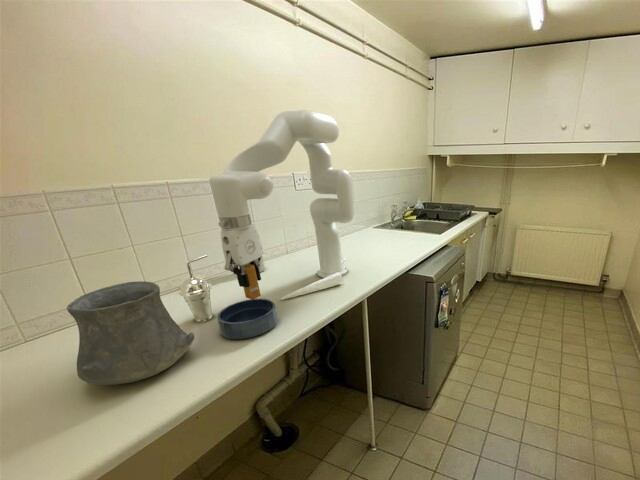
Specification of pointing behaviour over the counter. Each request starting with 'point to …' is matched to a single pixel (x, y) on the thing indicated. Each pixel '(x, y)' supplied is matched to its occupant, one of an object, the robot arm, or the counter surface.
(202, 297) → the cup with straw
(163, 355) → the vessel
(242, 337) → the bowl
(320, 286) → the unicorn horn
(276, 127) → the robot arm
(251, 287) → the supplement box
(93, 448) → the counter surface
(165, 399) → the counter surface
